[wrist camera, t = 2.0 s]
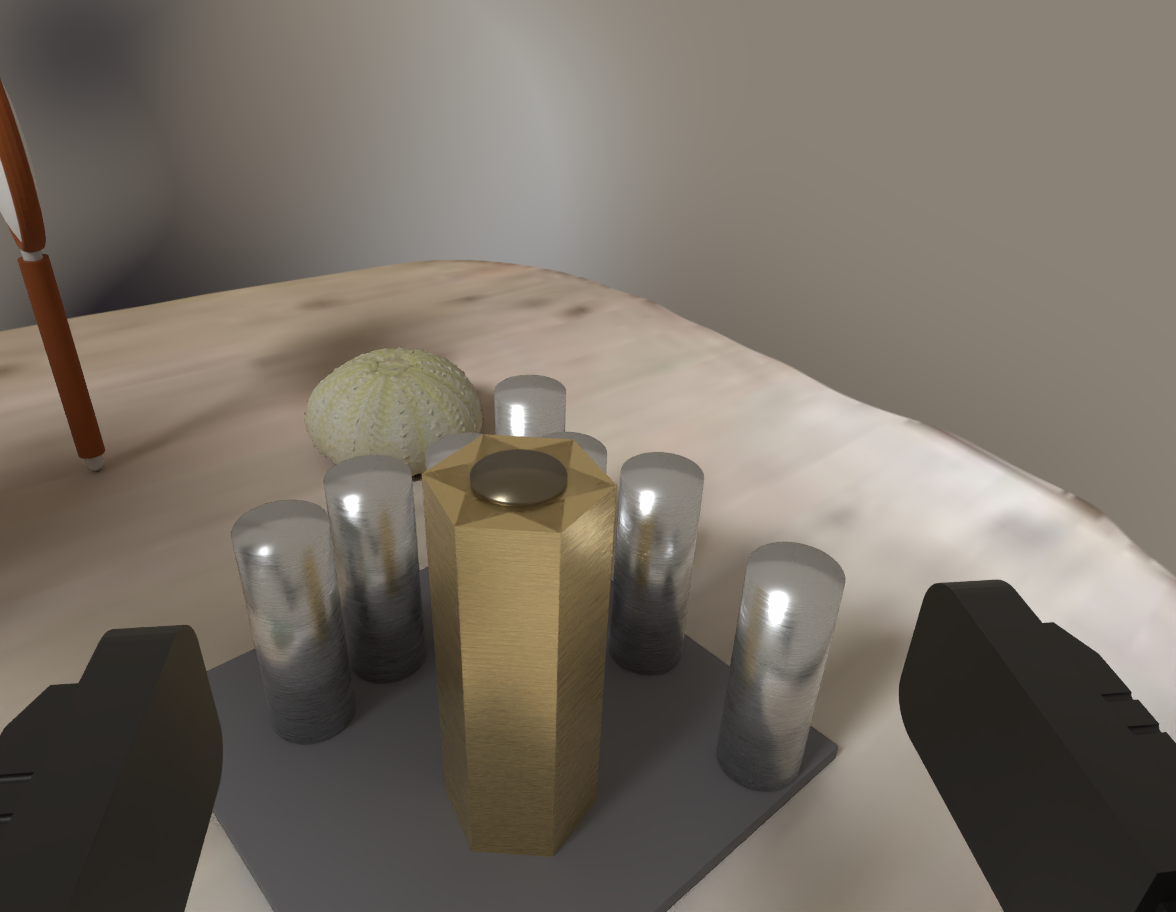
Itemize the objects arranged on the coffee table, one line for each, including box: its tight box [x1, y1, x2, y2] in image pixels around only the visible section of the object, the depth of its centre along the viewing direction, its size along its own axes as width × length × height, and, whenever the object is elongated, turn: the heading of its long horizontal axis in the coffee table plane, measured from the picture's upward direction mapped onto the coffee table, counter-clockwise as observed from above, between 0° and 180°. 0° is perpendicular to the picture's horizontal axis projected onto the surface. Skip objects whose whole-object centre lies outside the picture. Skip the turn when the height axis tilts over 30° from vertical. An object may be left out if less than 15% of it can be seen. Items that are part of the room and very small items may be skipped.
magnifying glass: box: [0, 78, 105, 471], centre depth 39 cm, size 9×2×20 cm, turn 37°
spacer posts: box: [231, 375, 845, 792], centre depth 29 cm, size 16×14×8 cm
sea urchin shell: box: [304, 347, 484, 476], centre depth 46 cm, size 9×8×8 cm
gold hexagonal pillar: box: [422, 434, 617, 857], centre depth 25 cm, size 5×4×12 cm
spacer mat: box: [207, 567, 838, 912], centre depth 31 cm, size 17×17×1 cm
